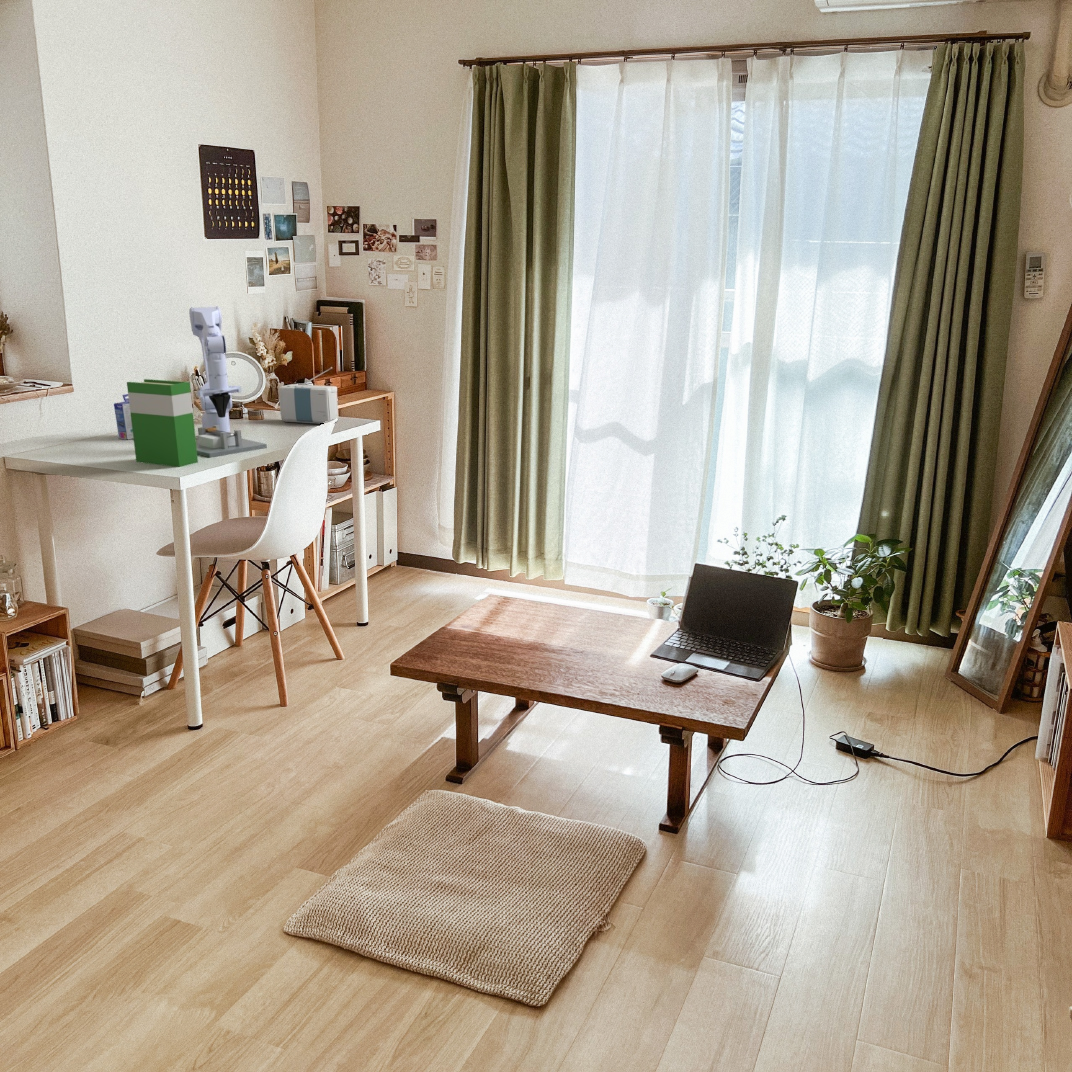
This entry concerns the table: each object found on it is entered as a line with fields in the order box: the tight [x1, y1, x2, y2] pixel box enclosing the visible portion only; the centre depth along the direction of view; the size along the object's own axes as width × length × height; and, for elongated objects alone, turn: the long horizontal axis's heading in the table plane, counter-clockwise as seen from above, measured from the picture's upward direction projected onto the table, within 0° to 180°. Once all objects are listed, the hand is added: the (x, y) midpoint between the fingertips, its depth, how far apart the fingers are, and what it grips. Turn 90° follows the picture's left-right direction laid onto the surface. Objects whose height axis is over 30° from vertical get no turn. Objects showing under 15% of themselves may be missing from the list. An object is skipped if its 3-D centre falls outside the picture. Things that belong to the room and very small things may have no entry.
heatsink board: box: [196, 425, 268, 458], centre depth 330 cm, size 22×20×6 cm
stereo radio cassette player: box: [278, 366, 339, 425], centre depth 372 cm, size 21×8×20 cm, turn 67°
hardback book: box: [126, 378, 199, 468], centre depth 307 cm, size 18×7×24 cm, turn 63°
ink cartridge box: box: [113, 393, 134, 440], centre depth 349 cm, size 10×6×14 cm, turn 146°
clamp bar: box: [205, 427, 236, 437], centre depth 329 cm, size 14×3×1 cm, turn 47°
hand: (221, 417), depth 332 cm, fingers closed
